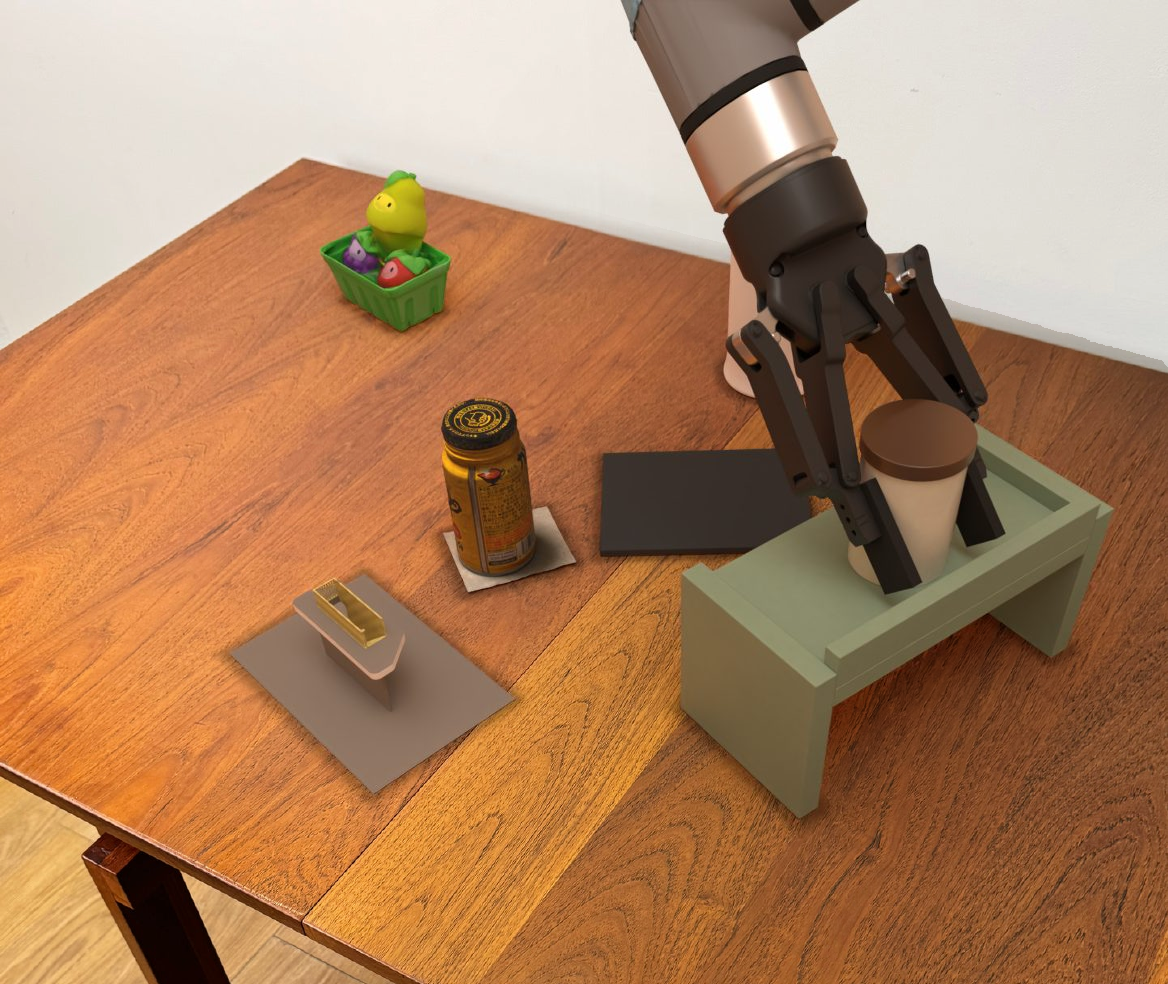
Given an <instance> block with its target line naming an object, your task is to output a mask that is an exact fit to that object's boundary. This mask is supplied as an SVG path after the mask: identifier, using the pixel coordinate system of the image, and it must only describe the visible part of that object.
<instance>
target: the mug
mask: <svg viewBox="0 0 1168 984" xmlns="http://www.w3.org/2000/svg"><path fill="white" fill-rule="evenodd" d="M729 264H730V268H729V269H730V270H729V290H728V291H729V294H728V296H729V297H728V320H727V338H728V337H729V336H731V335H732V334H733V333H735V332H736V331H738V330H739V329H740V328H742V327H743V326H745V325H746V324H747V323H749V322H750V321H751V320H752V319H753V318H754V317H755V316H756V315H757V314H758V312H757V296H756V291H755V288H754V286H753V285H752V284H751V283H749V282H747V281H746V280H745V279H744V278H743V276H742V273H741V271H740V269H739V267H738V264H737V262H736V260H735V258H734V256H733V253H732V251H731V250H730V263H729ZM779 346H780V347H781V349H782V350H783V352H784V354H785V356H786V358H787V360H788V362H789V365H790V367H791V370H792V372H793V375H794V378H795V380H796V383H797V385H798V388H799V391H800V393H801V396H804V391H803V385H802V381H801V379H799V378H798V377H797V376H796V373H795V368H794V362H793V356H792V350H791V345H790V342H789V341H788V340H786V339H785V338H783V337H782V336H781V340H780V342H779ZM725 357H726V358H725V361H724V364H723V375H724V378H725V380H726V382H727V383H728V385H729V386H730V387H732V389H733V390H735V391H737V392H739V393H740V394H742V395H743V396H746V397H750V398H753V399H756V398H755V395H754V393H753V390H752V388H751V385H750V383H749V380H748V378H747V376H746V374H745V373H744V372H743V370H742V369H741V368H740V367H739V365H738V364H737V363H736V362H735V360H734V359H733V358H732V356H731V355H730V354H729V353H728V351H727V350H726V355H725Z"/></svg>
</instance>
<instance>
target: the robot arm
mask: <svg viewBox="0 0 1168 984" xmlns="http://www.w3.org/2000/svg"><path fill="white" fill-rule="evenodd" d="M858 2H860V0H620V3H621V6H622V7H623V11H624V13H625V15H626V18H627V21H628V25H629V33H630V35H631V37H632V39H633V41H634V42H635V43H636V44H637V46H638V48H639V50H640V53H641V54H642V58H643V59H644V60H645V62H646V65H647V67H648V69H649V71H650V73H651V75H652V78H653V80H654V82H655V84H656V86H657V89H658V90H659V92H660V94H661V97H662V99H663V101H664V103H665V105H666V107H667V109H668V112H669V113H670V116H671V119H672V120H673V122H674V124H675V126H676V128H677V131H678V134H679V135H680V139H681V140H682V143H683V145H684V147H685V150H686V152H687V154H688V156H689V159H690V161H691V163H692V166H693V167H694V170H695V172H696V174H697V177H698V178H699V181H700V183H701V185H702V188H703V190H704V192H705V194H706V196H707V199H708V201H709V203H710V205H711V207H712V209H713V212H715V213H718V214H719V215H727V217H726V218H725V220H724V222H723V228H722V234H723V235H724V238H725V240H726V242H727V244H728V246H729V249H730V252H731V251H732V253H733V256H734V258H735V260H736V262H737V264H738V267H739V269H740V271H741V273H742V276H743V278H744V279H745V280H746V281H747V282H749V283H751V284H752V285H753V286H754V288H755V291H756V296H757V312H758V314H757V315H756V316H755V317H754V318H753V319H752V320H751V321H750V322H749V323H747V324H746V325H745V326H743V327H742V328H740V329H739V330H738V331H736V332H735V333H733V334H732V335H731V336H729V337H728V336H727V338H726V340H725V349H726V352H727V351H728V353H729V354H730V355H731V356H732V358H733V359H734V360H735V362H736V363H737V364H738V365H739V367H740V368H741V369H742V370H743V372H744V373H745V374H746V376H747V378H748V380H749V383H750V385H751V388H752V390H753V393H754V395H755V398H754V399H755V401H756V403H757V405H758V409H759V411H760V413H761V416H762V418H763V421H764V423H765V426H766V429H767V431H768V433H769V436H770V439H771V441H772V445H773V446H774V447H773V448H775V449H776V452H777V454H778V457H779V459H780V462H781V465H782V467H783V470H784V472H785V475H786V477H787V480H788V483H789V485H790V488H791V490H792V492H793V494H794V495H795V496H796V497H797V498H805V497H807V496H808V497H816V498H817V499H819V500H825V499H828V500H829V501H830V502H831V503H832V507H833V506H834V508H835V510H836V512H837V514H838V517H839V519H840V521H841V523H842V525H843V528H844V530H845V531H846V534H847V537H848V539H849V541H850V542H851V543H852V544H853V545H854V546H855V547H858V546H861V545H863V548H864V550H865V552H866V554H867V556H868V559H869V561H870V563H871V565H872V568H873V570H874V572H875V574H876V576H877V579H878V581H879V583H880V585H881V588H882V590H883V592H884V594H885V595H887V594H891V593H895V592H899V591H903V590H907V589H911V588H914V587H915V586H917V585H919V584H921V583H922V580H921V577H920V575H919V573H918V571H917V568H916V566H915V564H914V562H913V559H912V557H911V555H910V553H909V550H908V548H907V546H906V544H905V541H904V539H903V537H902V535H901V532H900V530H899V528H898V526H897V523H896V521H895V519H894V517H893V514H892V512H891V510H890V508H889V505H888V503H887V501H886V499H885V496H884V494H883V492H882V490H881V487H880V485H879V483H878V481H877V479H876V477H875V478H873V479H870V480H868V481H865V482H863V483H860V481H861V471H860V465H859V464H860V458H859V454H858V448H857V447H858V446H857V442H856V441H857V440H856V435H855V430H854V423H853V419H852V418H853V417H852V413H851V405H850V400H849V395H848V394H849V393H848V388H847V387H848V386H847V382H846V376H845V370H844V363H845V361H846V358H847V349H846V345H850V344H851V345H852V346H853V348H854V349H855V350H856V351H857V352H858V353H860V354H861V355H867V356H868V358H869V359H870V360H871V361H872V363H873V364H874V365H875V366H876V368H877V369H878V370H879V372H880V373H881V374H882V375H883V377H884V378H885V380H887V382H888V383H889V384H890V385H891V387H892V388H893V389H894V391H895V392H896V393H897V395H898V396H899V397H900V398H901V400H903V399H925V400H932V401H937V402H941V403H944V404H947V405H949V406H952V407H954V408H956V409H958V410H960V411H961V412H963V413H964V414H965V415H966V416H968V417H969V418H970V419H971V421H972V422H973V423H974V424H975V423H976V424H977V423H978V421H979V419H980V410H979V408H980V407H983V406H984V405H986V404H987V402H988V400H989V394H988V393H989V392H988V390H987V388H986V386H985V384H984V382H983V380H982V378H981V377H980V374H979V372H978V370H977V368H976V365H975V364H974V361H973V360H972V357H971V355H970V353H969V352H968V350H967V347H966V345H965V343H964V341H963V339H962V337H961V335H960V333H959V331H958V329H957V327H956V325H955V322H954V320H953V319H952V317H951V315H950V312H949V310H948V308H947V306H946V304H945V302H944V300H943V298H942V295H941V294H940V292H939V290H938V288H937V285H936V284H935V280H934V275H933V273H934V272H933V268H932V262H931V257H930V253H929V250H928V249H927V247H926V246H925V245H924V244H921V243H917V244H915V245H913V246H912V247H910V248H909V249H908V250H906V251H903V252H892V253H885V251H884V250H883V248H882V247H881V246H880V245H879V244H878V243H876V241H875V240H874V239H873V238H872V236H871V235H870V233H869V231H868V226H867V223H868V221H867V219H868V213H869V211H868V207H867V204H866V202H865V200H864V197H863V195H862V193H861V190H860V188H859V186H858V183H857V181H856V179H855V176H854V174H853V171H852V169H851V167H850V165H849V162H848V160H847V159H845V158H842V157H841V156H840V155H833V152H834V151H835V149H837V145H838V143H839V138H838V135H837V133H836V131H835V129H834V127H833V125H832V122H831V119H830V117H829V115H828V113H827V111H826V108H825V107H824V103H823V102H822V99H821V96H820V95H819V92H818V90H817V87H816V86H815V83H814V81H813V79H812V77H811V74H810V72H809V70H808V67H807V65H806V63H805V61H804V59H803V58H802V55H801V51H800V48H799V45H798V43H799V42H800V41H801V40H802V39H803V38H804V37H806V36H808V35H809V34H811V33H812V32H814V31H816V30H817V29H819V28H821V27H822V26H823V25H825V24H826V23H827V22H829V21H830V20H832V19H834V18H835V17H836V16H839V15H840V14H841V13H843V12H844V11H846V10H847V9H849V8H850V7H852V6H854V5H855V4H856V3H858ZM888 294H891V298H890V297H889V296H888ZM891 299H892V300H891ZM781 336H782V337H783V338H785V339H786V340H788V341H789V342H790V345H791V350H792V356H793V362H794V368H795V373H796V376H797V377H798V378H799V379H801V381H802V385H803V391H804V394H803V395H801V393H800V391H799V388H798V385H797V383H796V380H795V378H794V375H793V372H792V370H791V367H790V365H789V362H788V360H787V358H786V356H785V354H784V352H783V350H782V349H781V347H780V346H779V342H780V340H781ZM803 397H804V398H803ZM986 477H987V471H986V466H985V464H984V461H983V460H982V457H981V454H980V453H979V450H978V447H977V446H976V450H975V454H974V458H973V460H972V461H971V463H970V464H969V465H968V469H967V474H966V478H965V483H964V488H963V492H962V497H961V501H960V506H959V510H958V515H957V519H956V524H957V526H958V529H959V531H960V533H961V535H962V538H963V540H964V542H965V545H966V547H970V546H974V545H977V544H981V543H984V542H988V541H991V540H995V539H998V538H999V537H1001V536H1003V535H1004V534H1006V533H1005V530H1004V528H1003V526H1002V523H1001V521H1000V519H999V517H998V514H997V512H996V510H995V507H994V505H993V503H992V500H991V498H990V496H989V493H988V491H987V489H986V486H985V484H984V482H983V479H984V478H986Z"/></svg>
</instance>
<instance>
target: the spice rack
mask: <svg viewBox="0 0 1168 984" xmlns="http://www.w3.org/2000/svg"><path fill="white" fill-rule="evenodd" d="M974 425H975V427H976V429H977V433H978V441H977V447H978V450H979V453H980V454H981V457H982V460H983V461H984V464H985V466H986V471H987V477H986V478H984V479H983V482H984V484H985V486H986V489H987V491H988V493H989V496H990V498H991V500H992V503H993V505H994V507H995V510H996V512H997V514H998V517H999V519H1000V521H1001V523H1002V526H1003V528H1004V530H1005V533H1006V534H1004V535H1003V536H1001V537H999V538H998V539H995V540H991V541H988V542H984V543H981V544H977V545H974V546H970V547H966V545H965V542H964V540H963V538H962V535H961V533H960V531H959V529H958V526H957V524H955V528H954V533H953V537H952V542H951V547H950V551H949V556H948V560H947V564H946V567H945V569H944V571H943V572H942V573H941V575H940V576H939V577H937V578H936V579H935V580H933V581H932V582H930V583H928V584H925V585H923V586H919V587H914V588H911V589H907V590H903V591H899V592H895V593H891V594H887V595H885V594H884V592H883V590H882V588H881V586H880V585H877V584H874V583H872V582H870V581H868V580H866V579H864V578H863V577H861V576H860V575H859V574H858V573H857V572H856V571H855V570H854V569H853V568H852V566H851V564H850V562H849V560H848V555H847V551H848V544H849V539H848V537H847V534H846V531H845V530H844V528H843V525H842V523H841V521H840V519H839V517H838V514H837V512H836V510H835V508H834V506H833V505H832V506H831V507H829V508H827V509H826V510H823V511H822V512H821V513H819V514H817V515H815V516H812V517H811V519H809V520H807V521H805V522H804V523H802V524H800V525H798V526H796V527H794V528H792V529H791V530H789V531H787V532H785V533H783V534H781V535H780V536H778V537H776V538H774V539H772V540H770V541H768V542H767V543H765V544H763V545H761V546H759V547H757V548H755V549H754V550H752V551H750V552H748V553H743V554H742V555H741V556H739V557H737V558H734V559H733V560H731V561H730V562H728V563H726V564H724V565H722V566H720V567H718V568H716V569H714V570H712V569H711V568H709V567H708V566H707V565H706V564H705V563H703V562H702V561H701V562H699V563H696V564H695V565H693V566H691V567H690V568H688V569H685V570H684V571H682V572H681V573H680V697H679V699H680V700H679V701H680V703H679V704H680V705H679V706H680V709H681V710H683V712H684V713H686V714H687V715H688V716H689V717H690V718H691V719H692V720H693V721H694V722H695V723H696V724H697V725H699V726H700V727H701V728H702V729H703V730H704V731H705V732H706V733H707V734H708V735H709V736H710V737H711V738H712V739H714V740H715V742H717V744H718V745H720V746H721V747H722V748H723V750H725V751H726V752H727V753H728V754H729V755H730V756H732V758H733V759H734V760H735V761H737V762H738V763H739V765H741V766H742V767H743V768H744V769H745V770H746V771H747V772H748V773H749V774H751V775H752V776H753V777H754V779H755V780H757V781H758V782H759V783H760V784H761V785H762V787H763V788H765V789H766V790H767V791H769V792H770V793H771V794H772V795H773V796H774V797H775V798H776V799H777V800H778V801H779V802H780V803H781V804H782V805H783V806H784V807H785V808H786V809H787V810H789V812H791V813H792V814H793V815H794V817H796V818H797V819H799V820H800V819H802V818H803V817H805V816H806V815H808V814H810V813H811V812H812V811H814V810H816V809H817V808H819V803H820V796H821V789H822V782H823V781H822V780H823V774H824V770H825V769H824V767H825V760H826V754H827V747H828V741H829V734H830V727H831V721H832V720H831V719H832V713H833V707H835V706H837V705H840V703H842V702H843V701H845V700H847V699H848V698H850V697H851V696H854V695H855V694H857V693H858V692H860V691H861V690H863V689H865V688H866V687H868V686H870V685H872V684H873V683H875V682H876V681H879V680H880V679H881V678H883V677H885V676H886V675H888V674H889V673H891V672H893V671H895V670H896V669H898V668H899V667H902V666H903V665H904V664H906V663H908V662H909V661H911V660H913V659H914V658H916V657H917V656H919V655H921V654H922V653H924V652H927V650H928V649H930V648H932V647H934V646H936V645H937V644H939V643H940V642H942V641H944V640H945V639H947V638H949V637H950V636H952V635H953V634H955V633H957V632H958V631H960V630H962V629H963V628H965V627H967V626H968V625H971V624H972V623H973V622H975V621H976V620H978V619H979V618H981V617H983V616H985V615H986V614H989V615H990V616H992V617H993V618H994V619H996V620H997V621H999V622H1000V623H1002V624H1003V625H1004V626H1005V627H1007V628H1009V629H1010V630H1011V631H1013V632H1014V633H1015V634H1017V635H1018V636H1019V637H1021V638H1022V639H1023V640H1025V641H1027V643H1029V644H1031V645H1032V646H1033V647H1034V648H1036V649H1037V650H1039V651H1040V652H1042V653H1043V654H1044V655H1046V656H1047V657H1049V658H1050V659H1052V658H1053V657H1055V656H1056V655H1058V654H1060V653H1061V652H1063V651H1065V650H1066V649H1067V648H1068V645H1069V642H1070V639H1071V637H1072V633H1073V631H1074V628H1075V626H1076V625H1075V624H1076V622H1077V619H1078V616H1079V612H1080V610H1081V607H1082V604H1083V602H1084V598H1085V595H1086V592H1087V590H1088V586H1089V583H1090V580H1091V577H1092V574H1093V572H1094V569H1095V565H1096V564H1097V560H1098V558H1099V554H1100V551H1101V548H1102V546H1103V542H1104V540H1105V537H1106V534H1107V530H1108V528H1109V525H1110V522H1111V520H1112V516H1113V513H1114V510H1115V508H1114V507H1112V506H1111V505H1109V504H1108V503H1106V502H1104V501H1102V500H1101V499H1099V498H1097V497H1096V496H1095V495H1093V494H1091V493H1090V492H1088V491H1086V490H1085V489H1083V488H1081V487H1080V486H1078V485H1077V484H1075V483H1074V482H1072V481H1070V480H1069V479H1067V478H1066V477H1064V476H1062V475H1061V474H1059V473H1058V472H1056V471H1054V470H1052V469H1051V468H1049V467H1048V466H1046V465H1044V464H1042V463H1041V462H1040V461H1038V460H1036V459H1035V458H1033V457H1032V456H1030V455H1028V454H1026V453H1025V452H1023V451H1022V450H1020V449H1018V448H1017V447H1016V446H1014V445H1012V444H1010V443H1009V442H1007V441H1006V440H1004V439H1002V438H1001V437H999V436H997V435H995V433H992V432H991V431H990V430H987V429H986V428H985V427H983V426H981V425H979V424H978V423H977V422H976V423H975V424H974Z"/></svg>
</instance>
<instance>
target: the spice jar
mask: <svg viewBox="0 0 1168 984" xmlns="http://www.w3.org/2000/svg"><path fill="white" fill-rule="evenodd" d="M864 417H865V418H864V419H863V421H862V423H861V426H860V432H859V438H858V449H859V451H860V457H859V465H860V471H861V481H860V483H863V482H865V481H868V480H870V479H873V478H875V477H876V479H877V481H878V483H879V485H880V487H881V490H882V492H883V494H884V496H885V499H886V501H887V503H888V505H889V508H890V510H891V512H892V514H893V517H894V519H895V521H896V523H897V526H898V528H899V530H900V532H901V535H902V537H903V539H904V541H905V544H906V546H907V548H908V550H909V553H910V555H911V557H912V559H913V562H914V564H915V566H916V568H917V571H918V573H919V575H920V577H921V580H922V583H921V584H919V585H917V586H915V587H919V586H923V585H925V584H928V583H930V582H932V581H933V580H935V579H936V578H937V577H939V576H940V575H941V573H942V572H943V571H944V569H945V567H946V564H947V560H948V556H949V551H950V547H951V542H952V537H953V533H954V528H955V524H956V519H957V515H958V510H959V506H960V501H961V497H962V492H963V488H964V483H965V478H966V474H967V469H968V465H969V464H970V463H971V461H972V460H973V458H974V454H975V450H976V446H977V441H978V433H977V429H976V427H975V425H974V423H973V422H972V421H971V419H970V418H969V417H968V416H966V415H965V414H964V413H963V412H961V411H960V410H958V409H956V408H954V407H952V406H949V405H947V404H944V403H941V402H937V401H932V400H925V399H898V400H892V401H888V402H886V403H883V404H881V405H879V406H877V407H876V408H874V409H872V410H871V411H870V412H869V413H868V414H867V415H865V416H864ZM847 555H848V560H849V562H850V564H851V566H852V568H853V569H854V570H855V571H856V572H857V573H858V574H859V575H860V576H861V577H863V578H864V579H866V580H868V581H870V582H872V583H874V584H877V585H880V583H879V581H878V579H877V576H876V574H875V572H874V570H873V568H872V565H871V563H870V561H869V559H868V556H867V554H866V552H865V550H864V548H863V545H861V546H858V547H855V546H854V545H853V544H852V543H851V542H850V541H849V544H848V551H847ZM880 586H881V585H880Z"/></svg>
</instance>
